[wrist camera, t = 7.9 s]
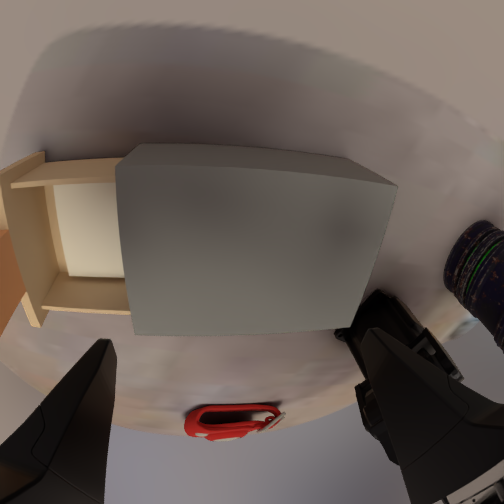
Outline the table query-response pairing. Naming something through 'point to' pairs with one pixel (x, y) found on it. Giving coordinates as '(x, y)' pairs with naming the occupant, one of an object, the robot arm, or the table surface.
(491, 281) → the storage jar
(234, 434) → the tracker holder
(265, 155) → the sleeve
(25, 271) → the beige open box
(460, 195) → the table surface
